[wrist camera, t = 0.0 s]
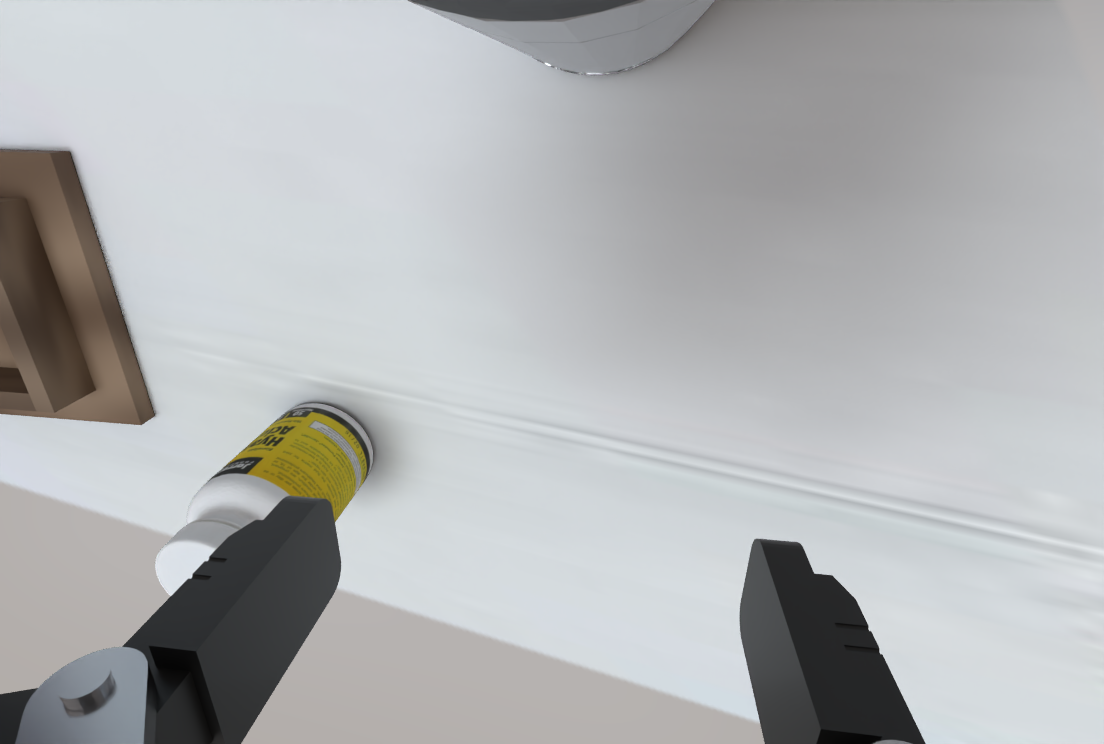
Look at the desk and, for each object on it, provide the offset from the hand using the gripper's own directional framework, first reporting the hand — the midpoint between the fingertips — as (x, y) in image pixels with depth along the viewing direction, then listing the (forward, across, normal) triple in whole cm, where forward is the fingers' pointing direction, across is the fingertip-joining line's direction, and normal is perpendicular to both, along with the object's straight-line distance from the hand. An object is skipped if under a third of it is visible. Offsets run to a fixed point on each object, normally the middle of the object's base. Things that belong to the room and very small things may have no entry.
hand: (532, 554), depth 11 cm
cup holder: (+17, +31, +1) cm, 36 cm away
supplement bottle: (+18, +14, +9) cm, 24 cm away
